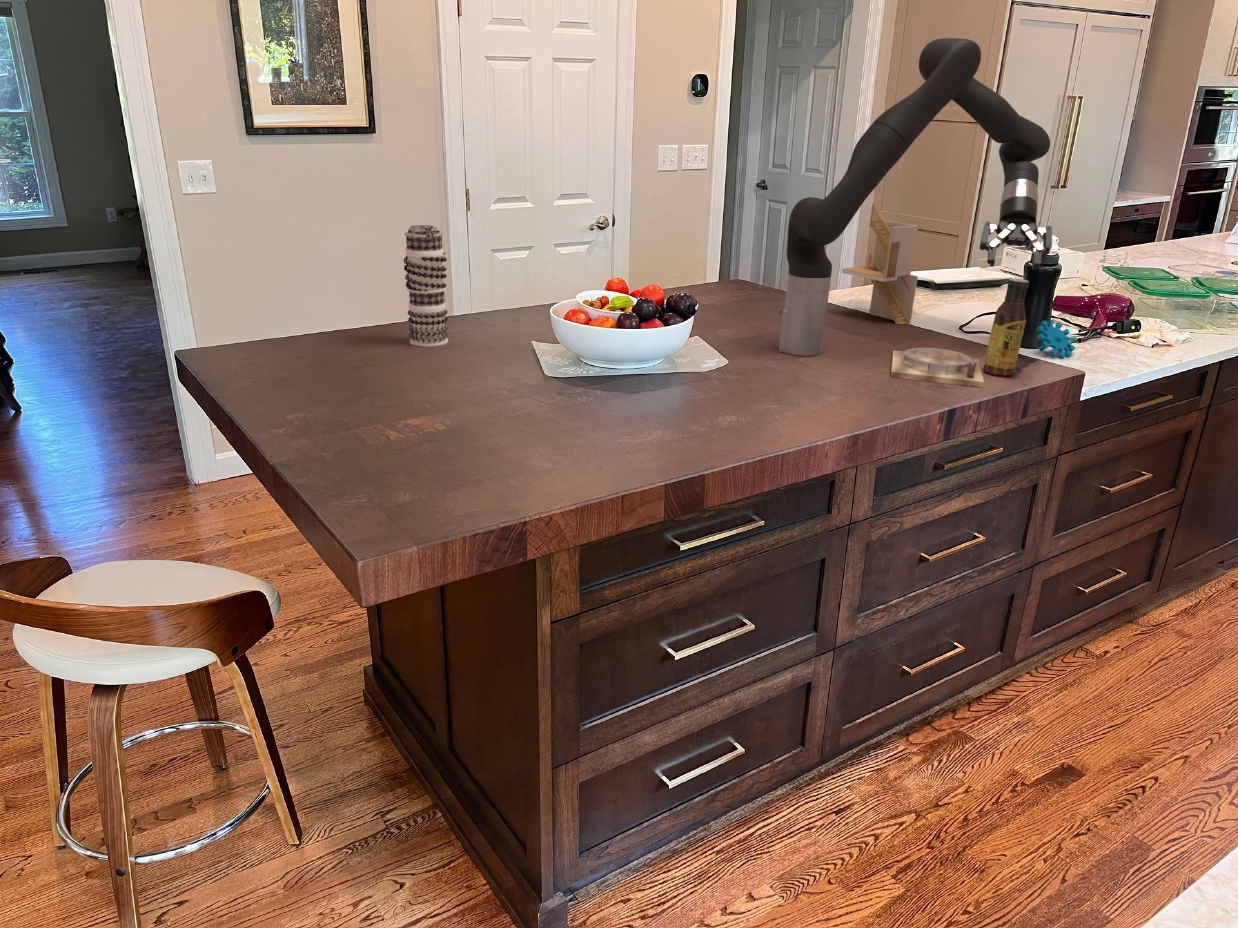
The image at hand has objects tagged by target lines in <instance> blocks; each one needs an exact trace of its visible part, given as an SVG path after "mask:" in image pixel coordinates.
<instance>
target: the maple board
mask: <svg viewBox="0 0 1238 928" xmlns="http://www.w3.org/2000/svg"><path fill="white" fill-rule="evenodd" d="M904 352H905V350H903V351H901V350H893V351H892V359H891V367H890V368H891V369H890V370H891V371H890V378H895V379H904V380H913V381H920V382H929V383H937V384H938V383H939V384H946V385H947V384H948V385H957V386H963V385H967V386H966V387H972V386H974V388H981V387H984V384H985V381H984V377H983V373H982V369H981V365H980V362H979V359H977V358H971V359H972V362H974V363H976V368H975V374H974V378H967V373H964V374H958V375H942V374H933V373H926V372H922V371H919V370H915V369H911V368H910V367H908V366H906V365H904V364H903V358H904ZM916 359H919V360H923V361H927V362H931V363H940V364H958V363H956V362H952V361H948V360H944V359H936V358H916Z"/></svg>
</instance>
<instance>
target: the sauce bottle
mask: <svg viewBox="0 0 1238 928" xmlns="http://www.w3.org/2000/svg"><path fill="white" fill-rule="evenodd" d="M1029 284H1030V281H1029V280H1026V279H1021V278H1013V277H1012V278H1009V279H1008V280H1007V289H1006V293H1005V296H1004V301H1003V302H1002V303H1001V304H1000V306H999V307H997V308H996V311H995V313H994V318H993V321H992V325H991V330H990V336H989V340H988V342H987V343H988V344H987V348H986V353H985V356H984V357H985V358H984V360H983V361H984V365H983V371H984V372H985V373H987V374H990V375H992V374H993V375H992V376H1001V377H1002V376H1003V377H1008V376H1011V375H1013V374H1014V371H1015V368H1016V366H1017V361H1018V357H1019V353H1020V348H1021V345H1022V340H1023V336H1024V331H1025V327H1026V323H1027V319H1026V308H1025V301H1026V300H1025V299H1026V295H1027V290H1028V288H1029V286H1030V285H1029Z"/></svg>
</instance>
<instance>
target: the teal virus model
mask: <svg viewBox="0 0 1238 928" xmlns="http://www.w3.org/2000/svg"><path fill="white" fill-rule="evenodd" d="M1047 321H1048V320H1042V321H1041V322H1040V323H1041V324H1040V326H1039V327H1037V328H1036V331H1037V332H1039V334H1038V335H1037V339H1038V341H1043V343H1042V344H1041V346H1040V347H1038V351H1040V352H1043V351H1045V350H1046V349H1048V348H1051V349H1050V350H1049V352H1048V353H1049V355H1051V356H1052V357H1054V356H1055V355H1057V357H1058V359H1064V358H1069V357H1070V356H1072V355H1073V351H1074V350H1076V347H1075V345H1073V343H1075V342H1076V341H1078V337H1077V336H1076V335H1075V336H1072V337H1069V336H1068V335H1070V334H1071V331H1070V330H1069V329H1068V328H1065V329H1063V330H1061V328H1062V327H1063V323H1062V322H1059V321H1058V322H1056V323H1055V320H1054V319H1051V318H1050V322H1049V325H1048V323H1047ZM1054 324H1055V326H1054ZM1057 351H1058V352H1059V353H1057Z"/></svg>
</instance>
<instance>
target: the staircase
mask: <svg viewBox="0 0 1238 928" xmlns="http://www.w3.org/2000/svg"><path fill="white" fill-rule="evenodd" d="M869 220H870V221H869V226H868V227H869V228H872V230H873V231H874V233H875V235H876V239H875V245H874V252H873V256H872V253H871V252H869V254H868V260H867V265H863V266H853V267H846V268H845V267H844V268H842V269H841V273H842V274H846V275H851V276H855V277H858V278H865V279H868V280H871V283H872V284H873V287H872V292H871V300H870V307H869V315H871V316H876V317H880V318H885V319H888V320H892V321H894V322H895V323H894V324H903V325H910V324H911V320H912V315H913V309H914V303H915V296H916V292H917V291H916V289H917V284H918V278H919V276H918V275H915V274H911V273H912V267H913V261H914V255H915V247H916V243H917V236H918V229H919V225H914V224H909V223H903V222H898V221H890V220H884V219H883V217H882V216H881V214H880V212H879V211H878V209H877V208H876V206H875V204H874V203H872V205H871V211H870V219H869Z"/></svg>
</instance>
